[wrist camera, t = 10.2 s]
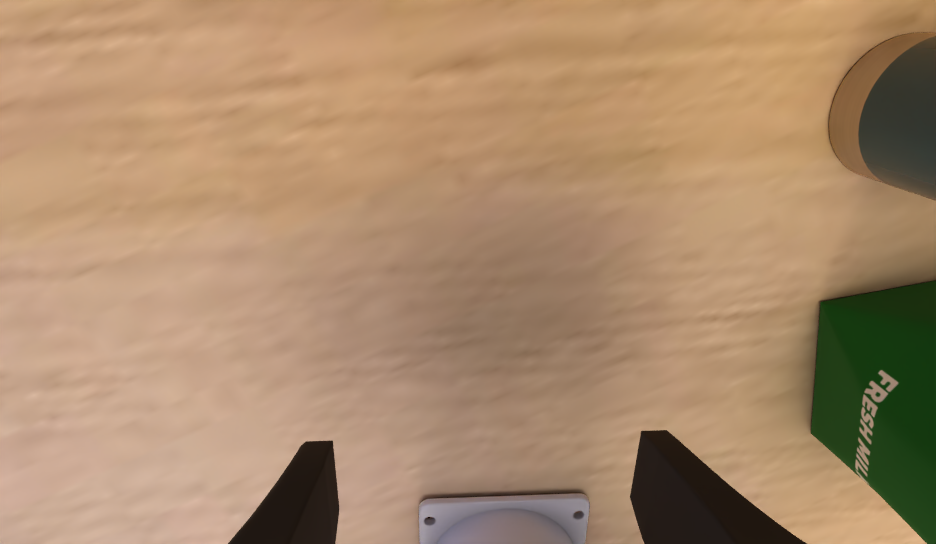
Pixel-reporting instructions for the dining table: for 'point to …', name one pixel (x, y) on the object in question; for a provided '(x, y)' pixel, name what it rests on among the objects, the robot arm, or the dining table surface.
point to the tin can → (890, 115)
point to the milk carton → (882, 395)
